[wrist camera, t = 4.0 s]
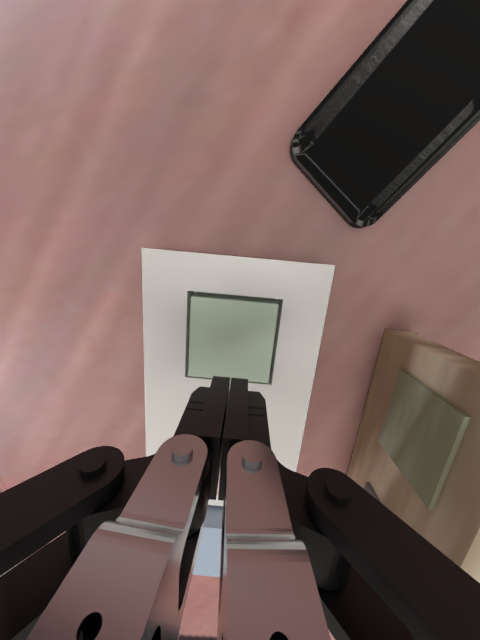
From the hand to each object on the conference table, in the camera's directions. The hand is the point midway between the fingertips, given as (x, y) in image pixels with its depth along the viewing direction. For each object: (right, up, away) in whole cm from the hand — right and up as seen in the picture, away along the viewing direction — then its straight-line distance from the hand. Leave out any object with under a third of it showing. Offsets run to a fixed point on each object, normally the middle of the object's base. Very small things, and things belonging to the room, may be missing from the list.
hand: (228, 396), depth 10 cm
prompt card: (+12, -7, +11) cm, 18 cm away
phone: (+11, +17, +5) cm, 21 cm away
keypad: (-1, -6, +11) cm, 12 cm away
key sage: (0, +3, +8) cm, 8 cm away
